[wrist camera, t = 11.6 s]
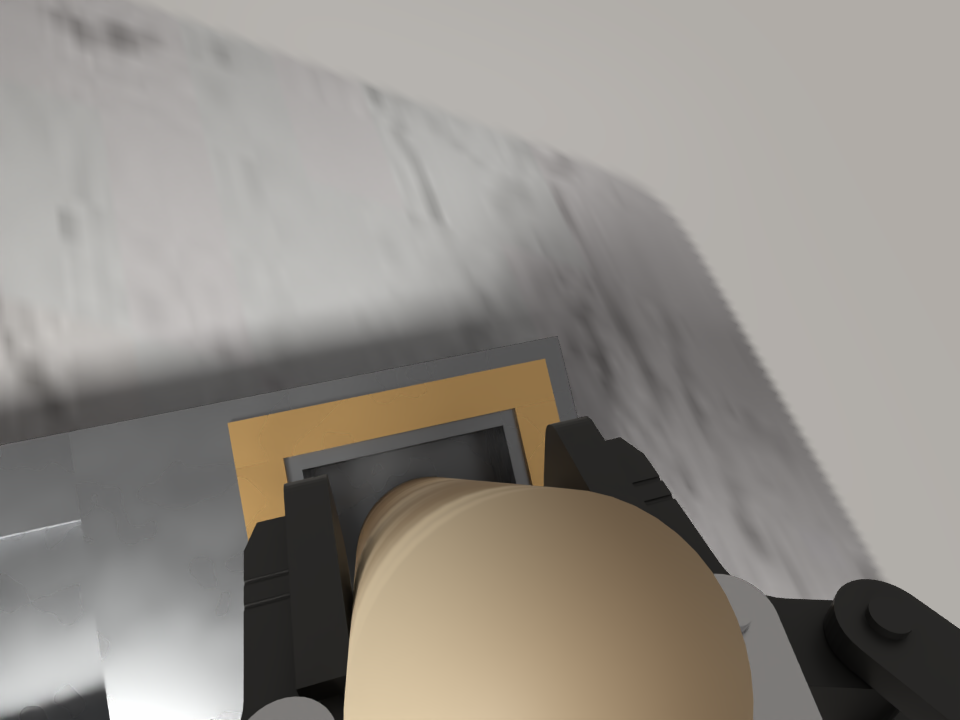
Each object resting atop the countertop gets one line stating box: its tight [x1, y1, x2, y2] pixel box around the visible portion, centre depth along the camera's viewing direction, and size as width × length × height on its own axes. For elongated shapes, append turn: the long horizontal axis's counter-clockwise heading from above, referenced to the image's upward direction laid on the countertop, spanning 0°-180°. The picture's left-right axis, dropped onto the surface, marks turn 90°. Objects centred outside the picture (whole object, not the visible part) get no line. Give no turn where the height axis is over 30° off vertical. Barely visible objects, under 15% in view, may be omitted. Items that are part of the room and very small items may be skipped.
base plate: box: [0, 336, 577, 720], centre depth 18 cm, size 21×10×4 cm, turn 103°
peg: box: [344, 477, 753, 720], centre depth 12 cm, size 4×4×12 cm
